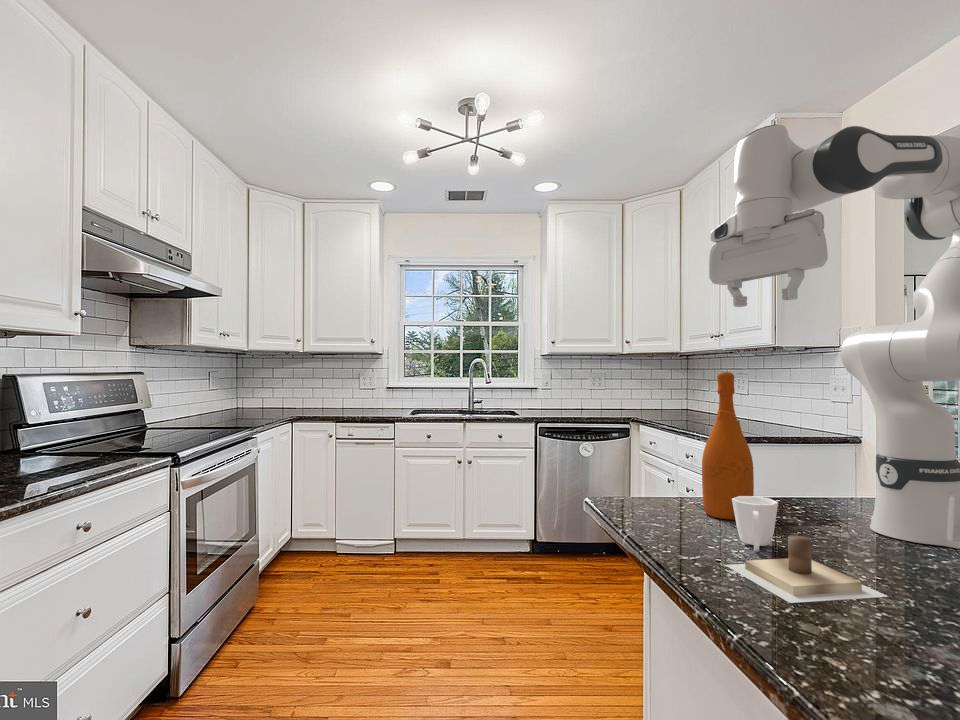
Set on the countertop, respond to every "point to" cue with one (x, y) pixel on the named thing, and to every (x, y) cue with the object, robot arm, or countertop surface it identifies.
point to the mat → (790, 598)
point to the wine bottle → (726, 457)
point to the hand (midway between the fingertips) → (763, 303)
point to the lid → (802, 572)
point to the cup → (755, 519)
